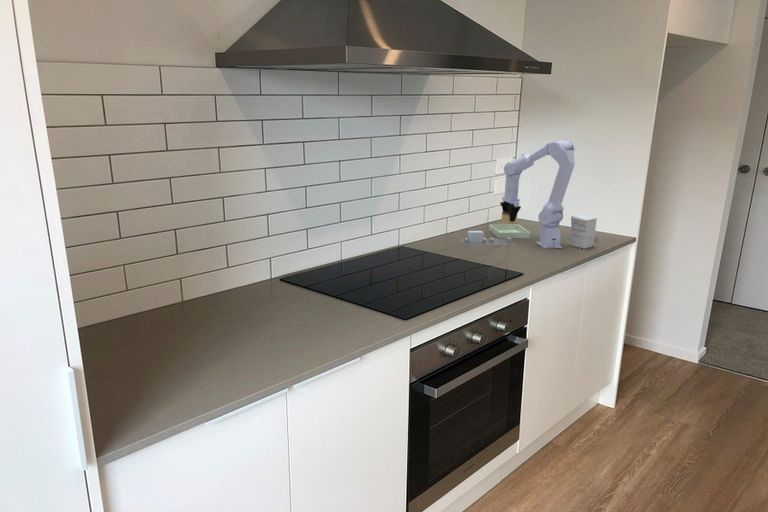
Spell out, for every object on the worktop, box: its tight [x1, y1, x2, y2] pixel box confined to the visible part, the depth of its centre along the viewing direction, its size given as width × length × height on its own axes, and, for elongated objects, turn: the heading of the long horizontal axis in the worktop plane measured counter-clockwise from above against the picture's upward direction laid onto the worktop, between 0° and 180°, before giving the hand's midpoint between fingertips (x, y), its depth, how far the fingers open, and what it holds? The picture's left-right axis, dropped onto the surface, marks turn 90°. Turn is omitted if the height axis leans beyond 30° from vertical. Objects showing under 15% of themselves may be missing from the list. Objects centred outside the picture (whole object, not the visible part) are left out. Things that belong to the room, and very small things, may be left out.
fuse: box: [467, 230, 485, 243], centre depth 262 cm, size 3×6×4 cm, turn 97°
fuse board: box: [459, 237, 517, 246], centre depth 263 cm, size 11×22×2 cm, turn 97°
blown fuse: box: [501, 211, 518, 225], centre depth 274 cm, size 3×6×4 cm, turn 55°
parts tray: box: [488, 224, 532, 239], centre depth 278 cm, size 16×14×3 cm
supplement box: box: [569, 214, 598, 250], centre depth 260 cm, size 7×7×13 cm
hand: (509, 219), depth 275 cm, fingers closed on blown fuse, 6 cm apart
